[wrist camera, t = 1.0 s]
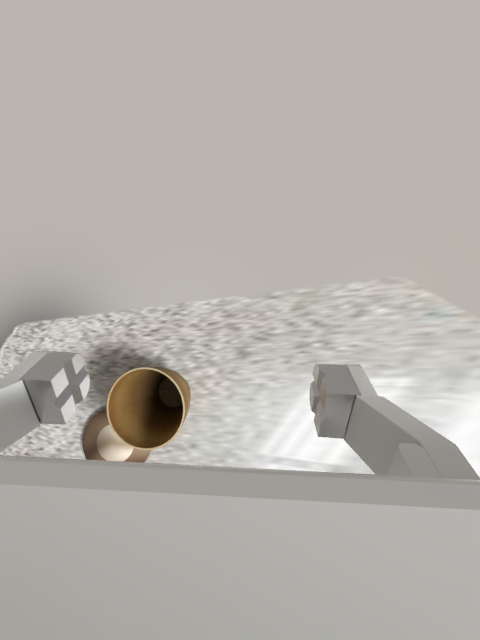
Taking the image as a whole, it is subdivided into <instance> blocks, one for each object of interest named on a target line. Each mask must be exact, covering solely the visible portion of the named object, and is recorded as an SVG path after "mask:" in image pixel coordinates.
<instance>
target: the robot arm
mask: <svg viewBox="0 0 480 640" xmlns="http://www.w3.org/2000/svg"><path fill="white" fill-rule="evenodd" d="M85 364H86V363H85V359H84V356H83V355H82V354H80V353H69V352H54V351H52V352H51V351H35V352H33V353H32V354H31V355H29V356H28V357H27V358H26V359H25V360H23V361H22V362H21V363H20V364H19V365H18V366H16V367H15V368H14V369H13V370H12V371H10V372H9V373H8V374H7V375H6V376H5V377H3V378H2V379H0V452H1V451H3V450H4V449H6V448H7V447H9V446H10V445H12V444H13V443H14V442H16V441H17V440H19V439H20V438H22V437H23V436H25V435H26V434H28V433H29V432H31V431H32V430H33V429H35V428H36V427H38V426H39V425H40V424H66V423H67V422H68V420H69V419H70V418H71V416H72V415H73V414H74V412H75V411H76V404H77V403H79V402H80V401H82V400H84V398H85V397H86V395H87V394H88V391H89V387H90V378H89V374H88V373H87V372H86V371H85V370H84V369H83V367H84V365H85ZM313 376H314V381H313V382H312V383H311V387H310V405H311V410H312V411H313V412H314V413H315V418H314V422H315V426H316V430H317V434H318V437H330V438H343V439H344V440H345V441H346V442H347V443H348V445H349V446H350V447H351V448H352V449H353V450H354V451H355V452H356V453H357V454H358V455H359V456H360V458H361V459H362V460H363V461H364V462H365V463H366V464H367V465H368V466H369V467H370V468H371V470H372V471H373V472H374V473H375V474H376V475H373V474H354V473H334V472H315V471H296V470H276V469H257V468H238V467H218V466H199V465H180V464H161V463H142V462H123V461H103V460H83V459H63V458H42V457H23V456H4V455H0V640H480V478H479V476H478V475H477V474H476V472H475V471H474V469H473V468H472V467H471V465H470V464H469V463H468V461H467V460H466V458H465V457H464V456H463V454H462V453H461V451H460V450H459V449H458V447H457V446H456V445H455V444H454V443H452V442H451V441H449V440H448V439H446V438H445V437H443V436H442V435H440V434H439V433H437V432H436V431H434V430H433V429H431V428H430V427H428V426H427V425H425V424H423V423H422V422H420V421H419V420H417V419H416V418H414V417H413V416H411V415H410V414H408V413H407V412H405V411H404V410H402V409H401V408H399V407H398V406H396V405H395V404H393V403H392V402H390V401H389V400H387V399H386V398H384V397H379V396H378V395H377V393H376V391H375V390H374V388H373V386H372V384H371V382H370V380H369V379H368V377H367V375H366V373H365V371H364V370H363V368H362V366H361V365H350V364H345V365H335V364H315V366H314V370H313Z"/></svg>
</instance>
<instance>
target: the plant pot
mask: <svg viewBox="0 0 480 640" xmlns="http://www.w3.org/2000/svg"><path fill="white" fill-rule="evenodd" d="M163 390H164V391H165V392H163ZM178 400H179V401H178ZM189 405H190V388H189V385H188V383H187V382H186V380H185V379H184V378H183V377H182V376H180V375H179V374H177V373H175V372H173V371H170V370H167V369H162V368H155V367H141V368H135V369H132V370H130V371H128V372H126V373H124V374H123V375H122V376H120V377H119V378H118V379H117V380H116V382H115V383H114V384H113V386H112V388H111V390H110V392H109V395H108V399H107V417H108V421H109V424H110V426H111V428H112V430H113V432H114V433H115V435H116V436H117V437H118V438H119V439H120V440H121V441H122V442H124V443H125V444H127V445H129V446H131V447H133V448H136V449H140V450H153V449H157V448H160V447H162V446H164V445H166V444H167V443H169V442H170V441H171V440H172V439H173V438H174V437H175V436H176V435H177V434H178V432H179V430H180V428H181V426H182V425H183V422H184V420H185V418H186V415H187V413H188V409H189Z"/></svg>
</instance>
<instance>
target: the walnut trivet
mask: <svg viewBox="0 0 480 640" xmlns="http://www.w3.org/2000/svg"><path fill="white" fill-rule="evenodd" d="M83 448H84V453H85V456H86V458H87V460H103V461H123V462H142V463H144V462H145V461H146V459H147V457H148V455H149V452H150V450H140V449H136V448H133V447H131V446H129V445H127V444H125V443H124V442H122V441H121V440H120V439H119V438H118V437H117V436H116V435H115V433H114V432H113V430H112V428H111V426H110V424H109V421H108V417H107V409H106V410H103V411H101V412H100V413H98V414H97V415H95V416H94V417H93V418H92V419H91V421H90V422H89V424H88V425H87V427H86V430H85V433H84V438H83Z"/></svg>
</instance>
